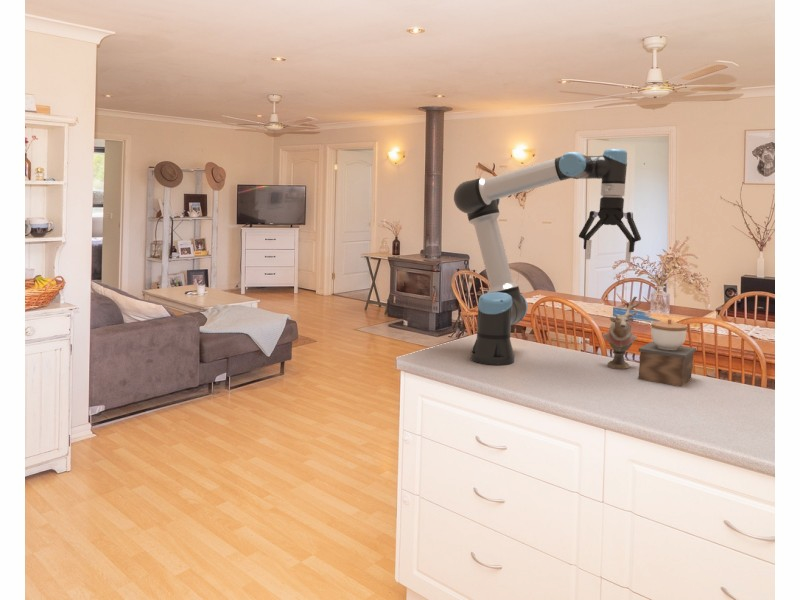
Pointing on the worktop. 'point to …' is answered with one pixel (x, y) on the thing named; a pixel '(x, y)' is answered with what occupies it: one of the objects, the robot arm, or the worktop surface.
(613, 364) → the decorative bust
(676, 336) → the lidded jar
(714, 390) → the worktop surface
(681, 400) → the worktop surface
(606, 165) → the robot arm
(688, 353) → the block
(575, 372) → the worktop surface
